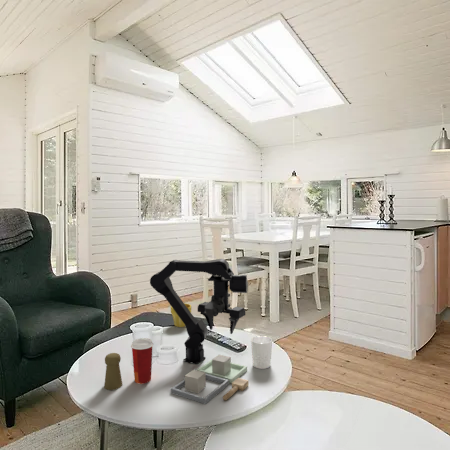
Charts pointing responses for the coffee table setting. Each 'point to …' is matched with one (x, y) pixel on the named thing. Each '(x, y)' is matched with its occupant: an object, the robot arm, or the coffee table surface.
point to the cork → (112, 372)
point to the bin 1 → (198, 398)
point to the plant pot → (176, 318)
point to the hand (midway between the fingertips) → (221, 331)
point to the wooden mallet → (236, 387)
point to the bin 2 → (231, 375)
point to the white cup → (261, 351)
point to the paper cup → (142, 360)
